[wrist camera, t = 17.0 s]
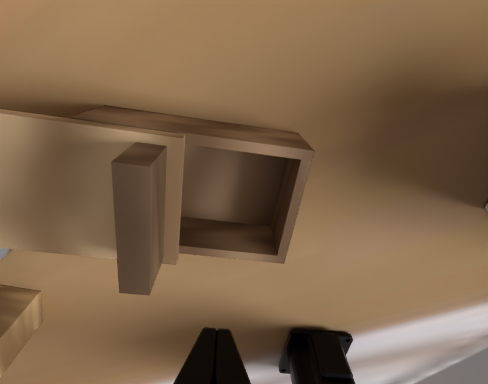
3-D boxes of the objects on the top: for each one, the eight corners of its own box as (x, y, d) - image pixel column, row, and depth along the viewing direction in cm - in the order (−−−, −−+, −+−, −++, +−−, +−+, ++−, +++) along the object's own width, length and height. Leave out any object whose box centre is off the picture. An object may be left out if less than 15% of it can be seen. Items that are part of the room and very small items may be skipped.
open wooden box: (298, 133, 19) (314, 150, 15) (275, 229, 22) (284, 263, 18) (105, 105, 18) (70, 116, 14) (112, 211, 21) (85, 243, 17)
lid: (185, 134, 14) (169, 157, 11) (178, 256, 17) (164, 303, 14) (-88, 96, 13) (-205, 108, 10) (-40, 234, 16) (-113, 280, 13)
